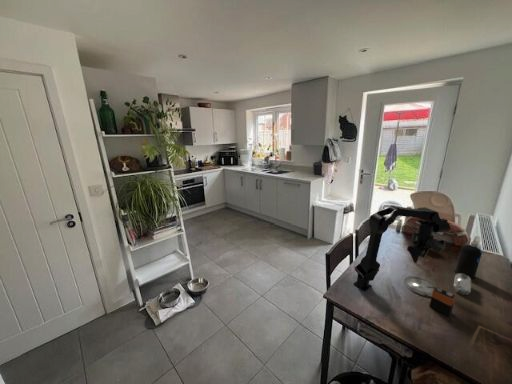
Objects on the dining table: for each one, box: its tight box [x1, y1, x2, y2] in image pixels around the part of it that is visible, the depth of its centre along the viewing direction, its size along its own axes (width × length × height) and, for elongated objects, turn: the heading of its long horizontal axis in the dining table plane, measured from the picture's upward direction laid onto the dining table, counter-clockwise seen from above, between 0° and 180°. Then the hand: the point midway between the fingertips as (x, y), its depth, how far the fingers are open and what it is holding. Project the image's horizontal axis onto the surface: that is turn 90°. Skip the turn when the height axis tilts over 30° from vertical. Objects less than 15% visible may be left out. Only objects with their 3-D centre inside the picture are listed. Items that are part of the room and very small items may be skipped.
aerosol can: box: [454, 241, 483, 280], centre depth 111 cm, size 8×8×20 cm
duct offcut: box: [452, 273, 472, 296], centre depth 103 cm, size 10×6×6 cm, turn 134°
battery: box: [429, 286, 457, 317], centre depth 91 cm, size 4×7×10 cm, turn 34°
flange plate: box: [404, 276, 437, 298], centre depth 106 cm, size 14×14×1 cm
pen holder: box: [410, 231, 418, 246], centre depth 141 cm, size 9×9×10 cm
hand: (419, 259), depth 107 cm, fingers open, 9 cm apart
